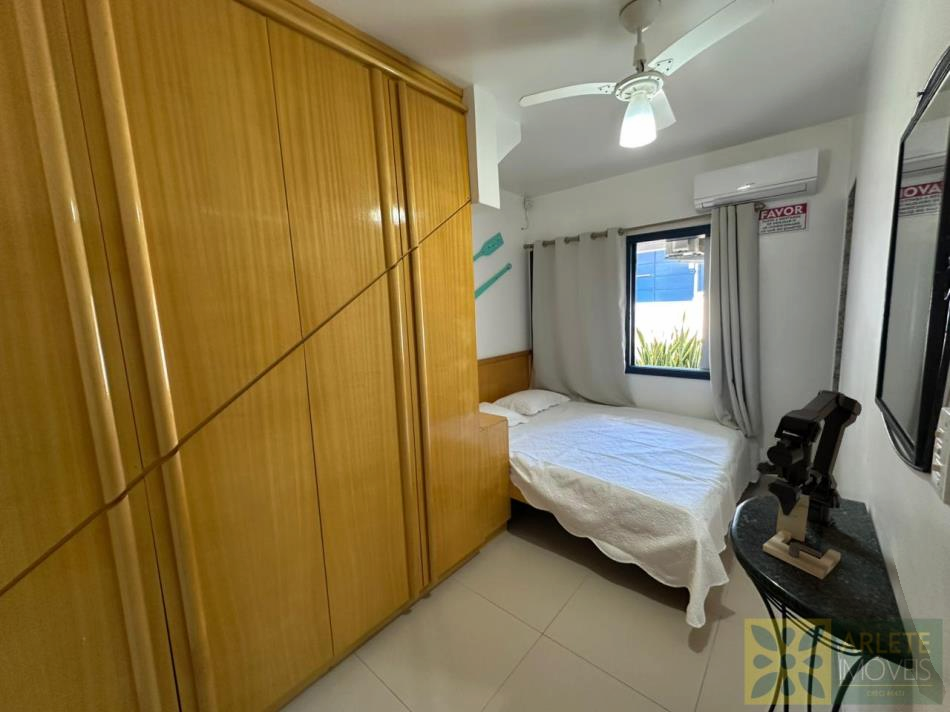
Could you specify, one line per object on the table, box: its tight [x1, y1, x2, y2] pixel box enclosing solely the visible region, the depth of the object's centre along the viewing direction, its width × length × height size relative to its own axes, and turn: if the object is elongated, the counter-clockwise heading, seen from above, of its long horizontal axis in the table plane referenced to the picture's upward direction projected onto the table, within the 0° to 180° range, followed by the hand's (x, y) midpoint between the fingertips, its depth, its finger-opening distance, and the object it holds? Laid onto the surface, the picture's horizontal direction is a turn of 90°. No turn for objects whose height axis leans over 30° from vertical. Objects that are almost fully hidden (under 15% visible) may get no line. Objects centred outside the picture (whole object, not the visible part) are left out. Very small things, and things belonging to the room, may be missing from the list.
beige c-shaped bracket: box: [762, 529, 841, 580], centre depth 93 cm, size 12×12×6 cm
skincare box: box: [775, 494, 809, 542], centre depth 101 cm, size 6×4×12 cm
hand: (792, 509), depth 101 cm, fingers open, 9 cm apart
